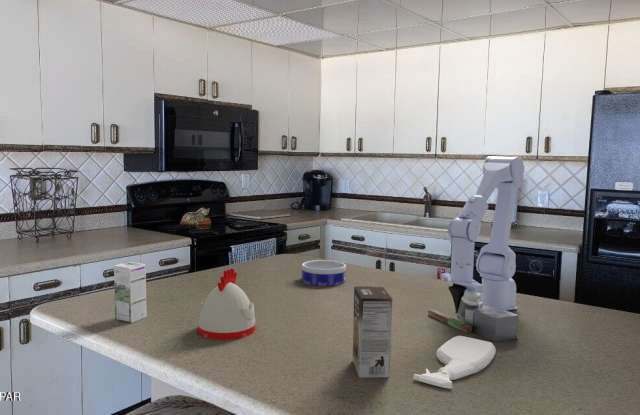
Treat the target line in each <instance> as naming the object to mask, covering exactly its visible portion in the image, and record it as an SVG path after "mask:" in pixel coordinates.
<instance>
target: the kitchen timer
mask: <svg viewBox="0 0 640 415" xmlns="http://www.w3.org/2000/svg"><path fill="white" fill-rule="evenodd" d="M237 276H238V272H235V268H230V269H226V270H223V276H220V277H219V278H220V282H217V283H216V284H217V286H216V287H214V288H213V289H212V290H211V291H210V293H209V294H207V297H206V298H205V301H204V302H201V303H200V307H199V309H200V310H199V311H200V314H199V318H198V321H197V322H198V323H197V332H198V334H199V335H200V336H202V337H204V338H207V339H212V340H224V341H225V340H235V339H241V338H244V337H249V336H250V335H252V334H254V332H255V331H256V316H255V306H254V302H251V301H250V299H249V297H248V296H247V294H246V293H245V292H244V290H243V289H242V288H240V287H239V286H238V285H237V284H236V281H237Z"/></svg>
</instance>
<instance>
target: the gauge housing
mask: <svg viewBox="0 0 640 415" xmlns="http://www.w3.org/2000/svg"><path fill="white" fill-rule="evenodd" d="M518 327H519V314H517V313H513V312H511V311H510V310H503V309H501V308H498V307H490V308H483V309H475V310H474V329H473V331H472V332H473V333H475V335H479V336H481V337H483V338H485V339H487V340H490V341H492V342H494V343H498V342H504V341H509V340H514V339H515V340H516V339H518V333H519V331H518Z"/></svg>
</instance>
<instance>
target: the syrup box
mask: <svg viewBox="0 0 640 415" xmlns="http://www.w3.org/2000/svg"><path fill="white" fill-rule="evenodd" d="M146 270H147V268H146V264H145V263H140V262H134V261H133V262H131V261H126V262H121V263H118V264H116V265H115V264H114V265H113V275H114V276H113V278H114V279H113V280H114V285H113V286H114V314H115V315H114V316H115V317H114V318H115V319H114V320H116V321H120V322H125V323H129V324H132V323H133V324H134V323H135V322H138V321H141V320H144V319H147V316H148V314H147V276H146V275H147V272H146Z"/></svg>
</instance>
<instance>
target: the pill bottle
mask: <svg viewBox="0 0 640 415" xmlns="http://www.w3.org/2000/svg"><path fill="white" fill-rule="evenodd" d="M480 302H481V293H476V292H474V291H473V290H470V289H466V290H465V293H464V296H462V298H461V302H460V306H459V310H458V313H456V320H458V321H461V322H463V323H465V310H466V309H467V308H475V307H479V303H480Z"/></svg>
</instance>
